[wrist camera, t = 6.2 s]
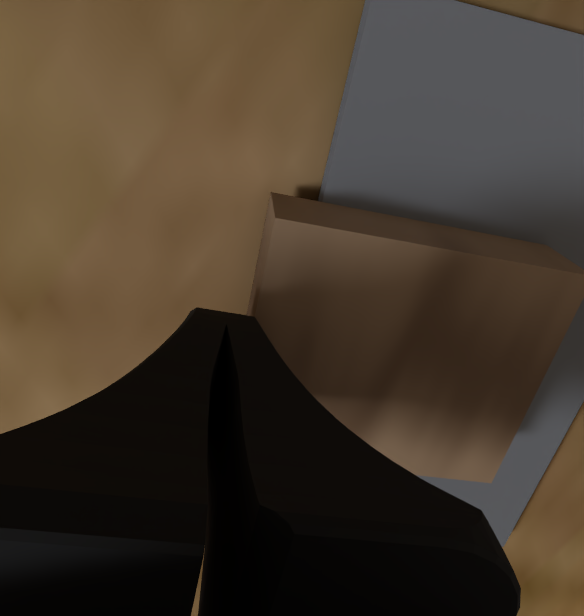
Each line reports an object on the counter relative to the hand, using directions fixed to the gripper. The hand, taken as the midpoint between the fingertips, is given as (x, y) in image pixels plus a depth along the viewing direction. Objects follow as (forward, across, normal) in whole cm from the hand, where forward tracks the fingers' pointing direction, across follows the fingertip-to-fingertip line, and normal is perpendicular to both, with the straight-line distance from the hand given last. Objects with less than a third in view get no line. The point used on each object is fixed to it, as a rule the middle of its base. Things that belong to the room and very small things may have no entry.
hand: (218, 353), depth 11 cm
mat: (+3, -6, 0) cm, 7 cm away
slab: (+1, -1, 0) cm, 1 cm away
